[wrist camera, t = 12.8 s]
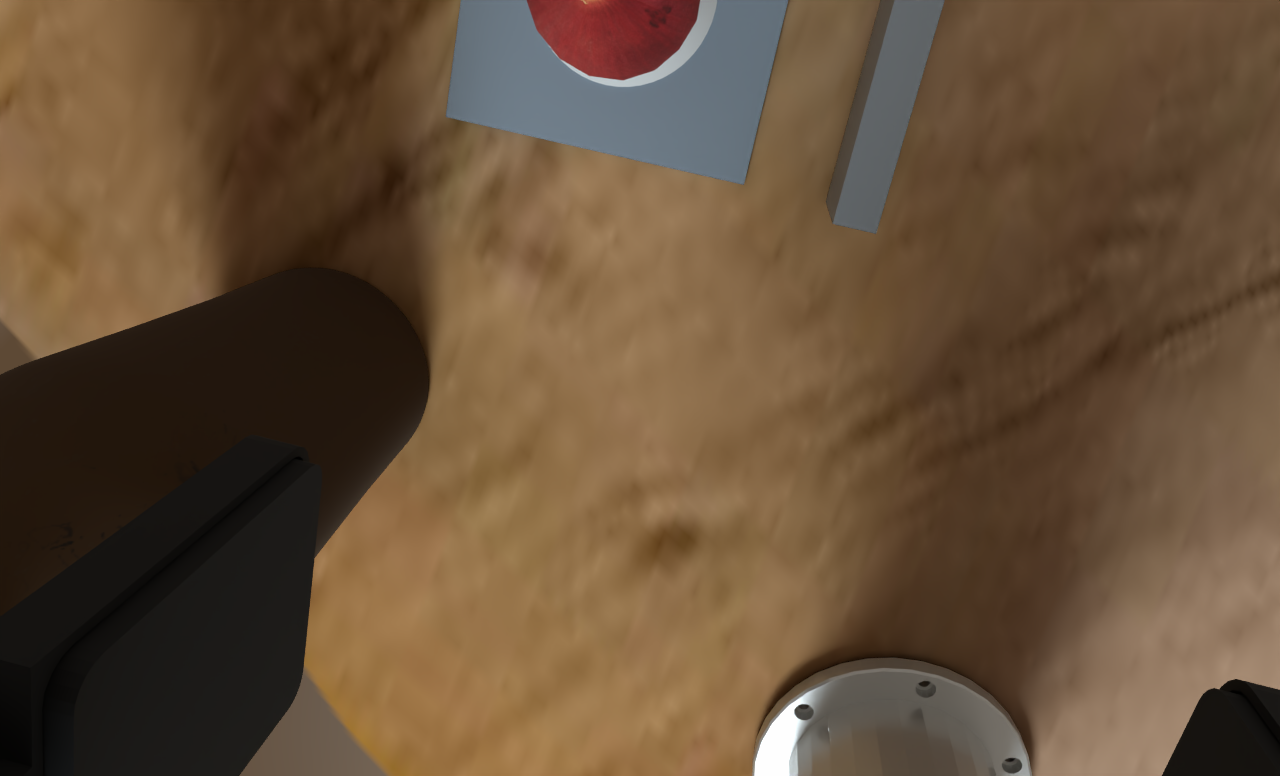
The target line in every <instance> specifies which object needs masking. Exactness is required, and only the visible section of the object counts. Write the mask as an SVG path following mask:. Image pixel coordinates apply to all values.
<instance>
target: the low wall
mask: <svg viewBox="0 0 1280 776" xmlns="http://www.w3.org/2000/svg"><path fill="white" fill-rule="evenodd" d="M943 4H944V0H881V1H880V5H879V8H878V12H877V16H876V19H875V23H874V27H873V30H872V34H871V38H870V41H869V45H868V49H867V52H866V56H865V60H864V63H863V67H862V71H861V74H860V78H859V82H858V85H857V89H856V93H855V96H854V100H853V104H852V107H851V111H850V115H849V119H848V122H847V126H846V130H845V133H844V137H843V141H842V144H841V148H840V152H839V155H838V159H837V163H836V166H835V170H834V174H833V177H832V181H831V185H830V188H829V192H828V196H827V199H826V204H827V207H828V211H829V214H830V217H831V220H832V223H833V224H836V225H840V226H844V227H849V228H853V229H857V230H862V231H866V232H871V233H875V234H876V232H877V229H878V225H879V222H880V218H881V215H882V212H883V208H884V205H885V201H886V198H887V195H888V191H889V188H890V184H891V181H892V178H893V174H894V171H895V167H896V164H897V161H898V157H899V154H900V150H901V147H902V143H903V140H904V137H905V133H906V130H907V126H908V123H909V120H910V116H911V113H912V109H913V106H914V103H915V99H916V96H917V92H918V89H919V86H920V82H921V79H922V75H923V72H924V69H925V65H926V62H927V58H928V55H929V52H930V48H931V45H932V41H933V38H934V35H935V31H936V28H937V24H938V21H939V17H940V14H941V11H942V7H943Z"/></svg>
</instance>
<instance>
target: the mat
mask: <svg viewBox="0 0 1280 776" xmlns="http://www.w3.org/2000/svg"><path fill="white" fill-rule="evenodd" d="M787 3H788V0H700V5H699V11H698V17H697V21H696V23H695V24H694V26H693V28H692V29H691V31H690V33H689V34H688V36H687V38H686V39H685V41H684V42H683V44H682V46H681V47H680V49H679V50H678V51H677V52H676V53H674V54H673V55H672V56H671V57H670V58H669V59H668V60H666V61H665V62H664V63H663V64H662V65H661V66H659V67H658V68H657V69H656V70H654V71H651V72H648V73H645V74H642V75H639V76H636V77H633V78H630V79H626V80H615V79H608V78H600V77H593V76H588V75H587V74H585V73H583V72H582V71H580V70H578V69H576V68H575V67H573V66H571V65H570V64H568V63H566V62H564V61H563V60H561V59H560V58H559V57H558V56H557V55H556V54H555V52H554V51H553V50H552V49H551V47H550V46H549V45H548V44H547V42H546V41H545V40H544V39H543V37H542V36H541V35H540V34H539V32H538V31H537V29H536V26H535V24H534V21H533V18H532V15H531V12H530V9H529V6H528V3H527V0H461V4H460V12H459V20H458V27H457V35H456V43H455V50H454V58H453V65H452V73H451V81H450V88H449V96H448V104H447V111H446V117H449V118H453V119H457V120H462V121H466V122H471V123H475V124H479V125H484V126H488V127H493V128H497V129H501V130H506V131H510V132H515V133H519V134H523V135H528V136H532V137H536V138H541V139H545V140H550V141H554V142H558V143H563V144H567V145H572V146H576V147H580V148H585V149H589V150H594V151H598V152H602V153H607V154H611V155H615V156H620V157H624V158H629V159H633V160H637V161H642V162H646V163H651V164H655V165H659V166H664V167H668V168H673V169H677V170H681V171H686V172H690V173H694V174H699V175H703V176H708V177H712V178H716V179H721V180H725V181H730V182H734V183H738V184H743V185H744V182H745V178H746V174H747V169H748V165H749V161H750V157H751V153H752V149H753V145H754V140H755V136H756V132H757V128H758V124H759V120H760V115H761V111H762V107H763V103H764V99H765V95H766V91H767V86H768V82H769V78H770V74H771V70H772V66H773V62H774V57H775V53H776V49H777V45H778V41H779V37H780V32H781V28H782V24H783V20H784V16H785V12H786V8H787Z"/></svg>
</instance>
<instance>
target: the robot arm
mask: <svg viewBox="0 0 1280 776" xmlns="http://www.w3.org/2000/svg"><path fill="white" fill-rule="evenodd" d="M321 487H322V470H321V467H320V466H319V465H318V464H314V463H310V462H309V456H308V452H307V450H306V449H305V448H304V447H301V446H297V445H293V444H289V443H285V442H281V441H277V440H273V439H269V438H265V437H261V436H257V435H250V436H248V437H245V438H244V439H243V440H241V441H240V442H239V443H237V444H236V445H234V446H233V447H232V448H230V449H229V450H228V451H226V452H225V453H223V454H222V455H221V456H219V457H218V458H217V459H215V460H214V461H213V462H211V463H210V464H208V465H207V466H206V467H204V468H203V469H202V470H200V471H199V472H197V473H196V474H195V475H193V476H192V477H191V478H189V479H188V480H187V481H185V482H184V483H182V484H181V485H180V486H178V487H177V488H176V489H174V490H173V491H171V492H170V493H169V494H167V495H166V496H165V497H163V498H162V499H161V500H159V501H158V502H156V503H155V504H154V505H152V506H151V507H150V508H148V509H147V510H145V511H144V512H143V513H141V514H140V515H139V516H137V517H136V518H135V519H133V520H132V521H130V522H129V523H128V524H126V525H125V526H124V527H122V528H121V529H119V530H118V531H117V532H115V533H114V534H113V535H111V536H110V537H108V538H107V539H106V540H104V541H103V542H102V543H100V544H99V545H98V546H96V547H95V548H93V549H92V550H91V551H89V552H88V553H87V554H85V555H84V556H82V557H81V558H80V559H78V560H77V561H76V562H74V563H73V564H72V565H70V566H69V567H67V568H66V569H65V570H63V571H62V572H61V573H59V574H58V575H56V576H55V577H54V578H52V579H51V580H50V581H48V582H47V583H46V584H44V585H43V586H41V587H40V588H39V589H37V590H36V591H35V592H33V593H32V594H30V595H29V596H28V597H26V598H25V599H24V600H22V601H21V602H19V603H18V604H17V605H15V606H14V607H13V608H11V609H10V610H9V611H7V612H6V613H4V614H3V615H2V616H0V776H239V775H240V774H241V772H242V771H243V770H244V768H245V767H246V766H247V764H248V763H249V761H250V760H251V759H252V757H253V756H254V755H255V753H256V752H257V751H258V749H259V748H260V747H261V745H262V744H263V743H264V741H265V740H266V738H267V737H268V736H269V735H270V733H271V732H272V731H273V729H274V728H275V726H276V725H277V724H278V722H279V721H280V720H281V718H282V717H283V716H284V714H285V713H286V712H287V710H288V709H289V707H290V706H291V704H292V702H293V700H294V698H295V696H296V694H297V691H298V689H299V686H300V683H301V679H302V674H303V667H304V657H305V647H306V637H307V627H308V617H309V607H310V597H311V587H312V577H313V567H314V557H315V547H316V537H317V527H318V517H319V507H320V497H321ZM752 776H1032V772H1031V767H1030V762H1029V756H1028V753H1027V751H1026V748H1025V745H1024V742H1023V740H1022V737H1021V734H1020V732H1019V730H1018V729H1017V727H1016V725H1015V724H1014V722H1013V720H1012V719H1011V717H1010V715H1009V713H1008V712H1007V711H1006V710H1005V709H1004V708H1003V707H1002V706H1001V705H1000V704H999V703H998V701H997V700H996V699H995V698H994V697H993V696H992V695H991V694H989V693H988V692H987V691H985V690H984V689H983V688H981V687H980V686H978V685H977V684H976V683H974V682H973V681H972V680H970V679H968V678H966V677H964V676H962V675H959V674H957V673H955V672H953V671H951V670H949V669H947V668H944V667H940V666H937V665H933V664H930V663H927V662H923V661H917V660H910V659H902V658H867V659H862V660H857V661H852V662H847V663H841V664H839V665H836V666H833V667H831V668H828V669H825V670H823V671H820V672H817V673H815V674H814V675H812V676H810V677H809V678H807V679H805V680H804V681H802V682H800V683H799V684H797V685H795V686H794V687H793V688H792V689H791V690H790V691H789V692H788V693H787V694H785V695H784V696H783V697H782V698H781V699H780V700H779V701H778V702H777V703H776V705H775V706H774V707H773V709H772V710H771V711H770V713H769V714H768V715H767V717H766V718H765V720H764V722H763V725H762V727H761V729H760V731H759V734H758V736H757V738H756V743H755V749H754V754H753V775H752ZM1162 776H1280V690H1278V689H1274V688H1270V687H1266V686H1262V685H1258V684H1254V683H1250V682H1246V681H1242V680H1238V679H1235V680H1231V681H1228V682H1227V683H1225V684H1224V685H1223V686H1222V687H1221V688H1220V690H1219V689H1215V688H1213V689H1209V690H1208V691H1206V692H1205V693H1204V694H1203V695H1202V697H1201V698H1200V700H1199V702H1198V704H1197V706H1196V708H1195V710H1194V712H1193V714H1192V716H1191V718H1190V720H1189V722H1188V724H1187V726H1186V728H1185V730H1184V732H1183V734H1182V736H1181V738H1180V740H1179V742H1178V744H1177V746H1176V748H1175V750H1174V752H1173V754H1172V756H1171V758H1170V760H1169V762H1168V764H1167V766H1166V768H1165V770H1164V772H1163V775H1162Z"/></svg>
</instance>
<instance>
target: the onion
mask: <svg viewBox="0 0 1280 776" xmlns="http://www.w3.org/2000/svg"><path fill="white" fill-rule="evenodd" d="M527 3H528V6H529V9H530V12H531V15H532V18H533V21H534V24H535V26H536V29H537V31H538V32H539V34H540V35H541V36H542V37H543V39H544V40H545V41H546V42H547V44H548V45H549V46H550V47H551V49H552V50H553V51H554V52H555V54H556V55H557V56H558V57H559V58H560V59H561V60H563V61H564V62H566V63H568V64H570V65H571V66H573V67H575V68H576V69H578V70H580V71H582V72H583V73H585V74H587V75H588V76H593V77H600V78H608V79H615V80H626V79H630V78H633V77H636V76H639V75H642V74H645V73H648V72H651V71H654V70H656V69H657V68H658V67H659V66H661V65H662V64H663V63H664V62H665V61H666V60H668V59H669V58H670V57H671V56H672V55H673V54H674V53H676V52H677V51H678V50H679V49H680V47H681V46H682V44H683V42H684V41H685V39H686V38H687V36H688V34H689V33H690V31H691V29H692V28H693V26H694V24H695V23H696V21H697V17H698V11H699V5H700V0H527Z"/></svg>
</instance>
